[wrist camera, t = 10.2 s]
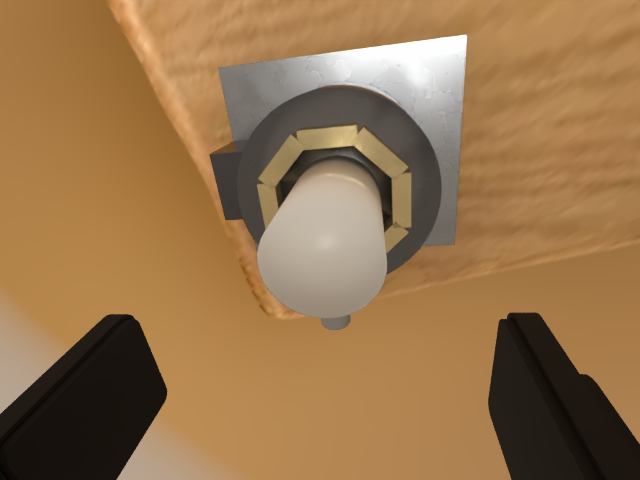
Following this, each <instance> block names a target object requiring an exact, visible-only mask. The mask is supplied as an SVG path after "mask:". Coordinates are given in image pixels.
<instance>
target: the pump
mask: <svg viewBox="0 0 640 480" xmlns="http://www.w3.org/2000/svg"><path fill="white" fill-rule="evenodd" d="M257 262H258V268H259V272H260V275H261V278H262V280H263V282H264V284H265V285H266V287H267V289H268V290H269V291H270V292H271V294H272V295H273V296H274V297H275V298H276V299H277V300H278V301H280V302H281V303H282V304H283V305H285V306H286V307H288V308H290V309H292V310H294V311H296V312H298V313H301V314H303V315H307V316H311V317H317V318H321V321H322V325H323V326H324V327H325V328H327V329H330V330H339V329H343V328H345V327H346V326H347V325H348V324H349V323H350V314H352V313H354V312H357V311H359V310H360V309H362V308H364V307H365V306H366V305H367V304H369V303H370V302H371V301H372V300H373V299H374V298H375V297H376V295H377V294H378V293H379V291H380V289H381V288H382V286H383V283H384V280H385V278H386V272H387V257H386V247H385V237H384V227H383V217H382V207H381V197H380V189H379V185H378V182H377V180H376V178H375V176H374V174H373V173H372V172H371V170H370V169H369V168H368V167H367V166H366V165H364V164H363V163H361V162H360V161H358V160H356V159H354V158H351V157H347V156H342V155H332V156H326V157H323V158H320V159H318V160H316V161H315V162H313V163H311V164H310V165H309V166H308V167H307V168H306V169H305V170H304V171H303V173H302V174H301V176H300V177H299V179H298V180H297V182H296V183H295V185H294V187H293V188H292V190H291V191H290V193H289V194H288V196H287V197H286V199H285V201H284V202H283V204H282V205H281V207H280V208H279V210H278V211H277V213H276V215H275V216H274V218H273V219H272V221H271V222H270V224H269V225H268V227H267V229H266V230H265V232H264V233H263V236H262V238H261V240H260V243H259V246H258V253H257Z"/></svg>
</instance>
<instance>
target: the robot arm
mask: <svg viewBox="0 0 640 480" xmlns="http://www.w3.org/2000/svg"><path fill="white" fill-rule="evenodd" d="M166 396H167V388H166V385H165V383H164V381H163V378H162V376H161V373H160V372H159V369H158V366H157V364H156V361H155V359H154V357H153V354H152V352H151V349H150V347H149V345H148V343H147V340H146V338H145V336H144V333H143V330H142V328H141V326H140V323H139V322H138V321H137V320H135V319H134V317H133V316H132V315H128V314H117V315H116V314H111V315H107V316H106V317H104V318H103V319H102V320H101V321H100V322H99V323H98V324H96V325H95V326H94V327H93V328H92V329H91V330H90V331H89V332H88V333H87V334H86V335H85V336H84V337H82V338H81V339H80V340H79V341H78V342H77V343H76V344H75V345H74V346H73V347H72V348H71V349H70V350H69V351H68V352H66V353H65V355H63V356H62V357H61V358H60V359H59V360H58V361H57V362H56V363H55V364H54V365H52V366H51V367H50V368H49V369H48V370H47V371H46V372H45V373H44V374H43V375H42V376H41V377H40V378H39V379H38V380H36V381H35V382H34V383H33V384H32V385H31V386H30V387H29V388H28V389H27V390H26V391H25V392H23V393H22V394H21V395H20V396H19V397H18V398H17V399H16V400H15V401H14V402H13V403H12V404H11V405H10V406H8V407H7V409H5V410H4V411H3V412H2V413H1V414H0V480H116V479H117V478H118V476H119V475H120V473H121V471H122V470H123V468H124V467H125V465H126V463H127V462H128V460H129V459H130V457H131V455H132V454H133V452H134V450H135V449H136V447H137V446H138V444H139V442H140V441H141V439H142V438H143V436H144V434H145V433H146V431H147V430H148V428H149V426H150V425H151V423H152V422H153V420H154V418H155V417H156V415H157V414H158V412H159V410H160V409H161V407H162V405H163V404H164V402H165V400H166ZM488 406H489V412H490V416H491V419H492V422H493V425H494V428H495V431H496V434H497V437H498V440H499V443H500V446H501V449H502V452H503V455H504V458H505V461H506V464H507V467H508V470H509V473H510V476H511V479H512V480H640V444H639V443H638V441H637V440H636V438H635V437H634V436H633V434H632V433H631V431H630V430H629V428H628V427H627V426H626V424H625V423H624V421H623V420H622V418H621V417H620V416H619V414H618V413H617V411H616V410H615V408H614V407H613V406H612V404H611V403H610V401H609V400H608V398H607V397H606V396H605V394H604V393H603V391H602V390H601V388H600V387H599V386H598V384H597V383H596V382H595V381H594V380H593V379H592V378H591V377H590V376H588V375H585V374H579V372H578V371H577V369H576V368H575V367H574V365H573V364H572V362H571V361H570V359H569V358H568V356H567V355H566V353H565V352H564V350H563V349H562V347H561V346H560V344H559V343H558V341H557V340H556V338H555V337H554V335H553V334H552V332H551V331H550V329H549V328H548V326H547V325H546V323H545V322H544V320H543V319H542V317H541V316H540V315H539V314H538V313H509V314H508V316H507V319H501V320H500V321H499V325H498V332H497V340H496V347H495V354H494V362H493V369H492V376H491V384H490V392H489V399H488Z"/></svg>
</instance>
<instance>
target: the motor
mask: <svg viewBox="0 0 640 480" xmlns="http://www.w3.org/2000/svg"><path fill="white" fill-rule="evenodd" d="M466 42H467V35H461V36H453V37H446V38H438V39H431V40H423V41H416V42H408V43H400V44H393V45H385V46H378V47H370V48H363V49H355V50H348V51H340V52H333V53H325V54H317V55H310V56H302V57H295V58H287V59H280V60H272V61H265V62H257V63H250V64H242V65H234V66H227V67H219V68H218V69H219V74H220V79H221V83H222V88H223V93H224V98H225V102H226V107H227V112H228V116H229V121H230V126H231V131H232V135H233V140H234V141H233V142H231V143H230V144H228V145H226V146H224V147H222V148H220V149H219V150H217V151H215V152H213V153H211V154H209V155H210V159H211V163H212V167H213V171H214V175H215V179H216V183H217V187H218V191H219V195H220V199H221V204H222V208H223V212H224V216H225V220H238V219H243V220H244V222H245V224H246V226H247V229H248V230H249V232H250V234H251V235H252V237H253V239H254V240H255V244H256V249H257V253H258V246H259V243H260V240H261V238H262V236H263V233H264V232H265V230H266V229H267V227H268V225H269V224H270V222H271V221H272V219H273V218H274V216H275V215H276V213H277V211H278V210H279V208H280V207H281V205H282V204H283V202H284V201H285V199H286V197H287V196H288V194H289V193H290V191H291V190H292V188H293V187H294V185H295V183H296V182H297V180H298V179H299V177H300V176H301V174H302V173H303V171H304V170H305V169H306V168H307V167H308V166H309V165H310V164H311V163H313V162H315V161H316V160H318V159H320V158H323V157H326V156H332V155H342V156H347V157H351V158H354V159H356V160H358V161H360V162H361V163H363V164H364V165H366V166H367V167H368V168H369V169H370V170H371V172H372V173H373V174H374V176H375V178H376V180H377V182H378V185H379V189H380V197H381V207H382V217H383V227H384V237H385V247H386V257H387V272H386V274H388V273H390V272H392V271H394V270H395V269H397V268H399V267H400V266H401V265H403V264H404V263H405V262H407V261H408V260H409V259H410V258H411V257H412V256H413V255H414V254H415V253H416V252H417V251H418V250H419V249H420V248H421V246H432V245H454V244H455V228H456V211H457V195H458V178H459V161H460V144H461V127H462V110H463V93H464V76H465V59H466Z"/></svg>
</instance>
